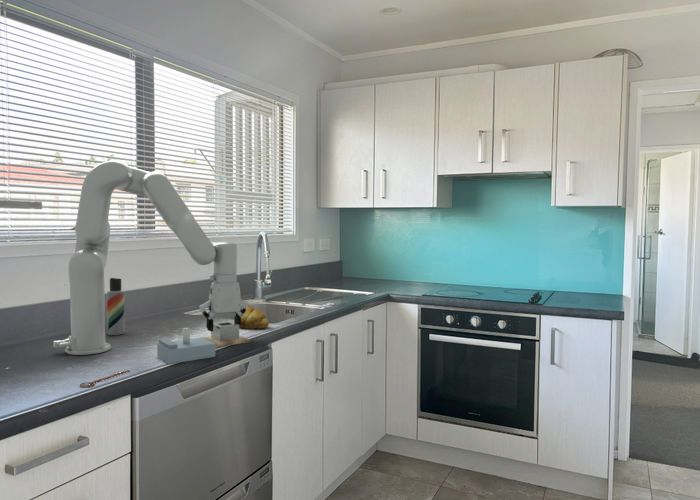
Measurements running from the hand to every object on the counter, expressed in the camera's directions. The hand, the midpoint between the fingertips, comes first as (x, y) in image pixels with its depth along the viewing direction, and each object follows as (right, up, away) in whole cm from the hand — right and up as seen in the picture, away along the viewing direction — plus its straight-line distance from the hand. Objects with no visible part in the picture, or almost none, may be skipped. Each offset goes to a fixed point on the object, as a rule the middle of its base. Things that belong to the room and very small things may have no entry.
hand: (223, 329), depth 179 cm
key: (-21, -7, -42) cm, 48 cm away
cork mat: (0, -4, 0) cm, 4 cm away
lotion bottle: (-40, -3, +9) cm, 42 cm away
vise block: (-6, -5, -20) cm, 22 cm away
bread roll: (+5, -3, +23) cm, 24 cm away
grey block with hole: (0, -3, +1) cm, 3 cm away
